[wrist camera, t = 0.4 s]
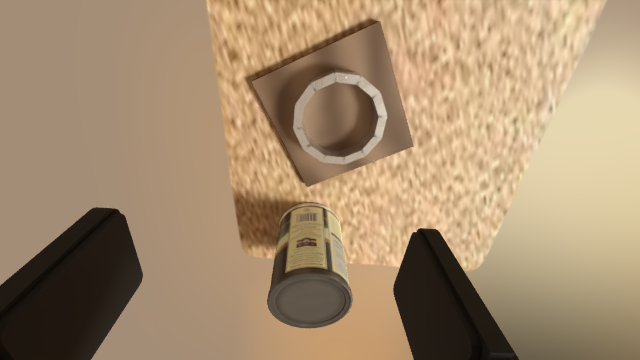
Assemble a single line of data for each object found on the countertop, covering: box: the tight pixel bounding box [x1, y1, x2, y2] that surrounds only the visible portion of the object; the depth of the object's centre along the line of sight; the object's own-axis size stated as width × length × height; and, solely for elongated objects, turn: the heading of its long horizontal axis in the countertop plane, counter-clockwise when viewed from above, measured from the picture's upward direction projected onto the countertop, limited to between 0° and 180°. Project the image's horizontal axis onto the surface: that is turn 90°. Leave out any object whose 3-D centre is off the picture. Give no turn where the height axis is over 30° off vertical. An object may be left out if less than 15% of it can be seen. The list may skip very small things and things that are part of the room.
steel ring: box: [293, 69, 387, 164], centre depth 34 cm, size 11×11×2 cm
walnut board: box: [252, 21, 413, 187], centre depth 35 cm, size 16×16×1 cm
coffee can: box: [267, 203, 353, 328], centre depth 39 cm, size 10×10×14 cm
